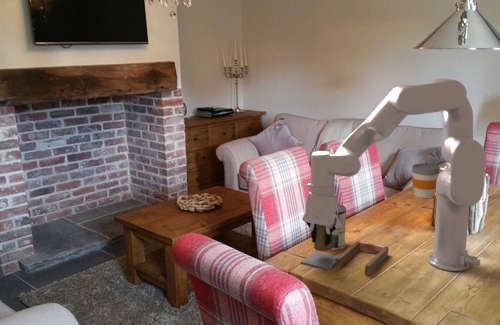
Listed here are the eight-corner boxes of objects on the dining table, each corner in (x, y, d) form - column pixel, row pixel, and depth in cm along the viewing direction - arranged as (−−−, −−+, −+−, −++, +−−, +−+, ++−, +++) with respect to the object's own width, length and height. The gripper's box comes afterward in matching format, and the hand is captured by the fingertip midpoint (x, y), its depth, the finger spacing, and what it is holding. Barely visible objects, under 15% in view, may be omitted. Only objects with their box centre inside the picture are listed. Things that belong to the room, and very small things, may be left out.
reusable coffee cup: (418, 191, 232) (420, 162, 228) (442, 196, 222) (444, 166, 219) (405, 196, 224) (407, 166, 220) (429, 201, 214) (431, 170, 211)
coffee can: (325, 252, 159) (326, 213, 156) (311, 241, 169) (312, 205, 166) (351, 247, 163) (352, 209, 160) (335, 237, 172) (336, 202, 169)
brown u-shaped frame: (388, 255, 156) (388, 247, 155) (368, 275, 141) (368, 266, 140) (357, 248, 162) (357, 240, 161) (335, 267, 147) (335, 258, 147)
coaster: (341, 259, 153) (341, 257, 153) (328, 270, 145) (328, 268, 145) (314, 252, 159) (314, 251, 159) (300, 263, 151) (300, 261, 151)
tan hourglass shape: (330, 244, 155) (331, 213, 153) (333, 251, 149) (334, 219, 147) (312, 244, 155) (313, 213, 153) (314, 251, 149) (315, 219, 147)
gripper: (293, 188, 148) (293, 241, 152) (341, 196, 139) (340, 252, 143) (304, 183, 154) (304, 234, 158) (351, 190, 145) (349, 244, 149)
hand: (321, 242), depth 150 cm, fingers closed on tan hourglass shape, 4 cm apart
